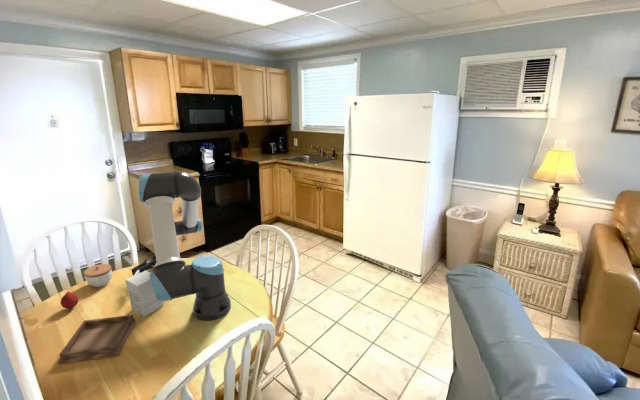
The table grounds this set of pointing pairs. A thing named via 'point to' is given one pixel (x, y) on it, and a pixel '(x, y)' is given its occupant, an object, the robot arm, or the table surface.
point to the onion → (69, 300)
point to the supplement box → (142, 294)
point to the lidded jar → (98, 275)
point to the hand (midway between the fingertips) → (150, 278)
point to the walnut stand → (98, 339)
